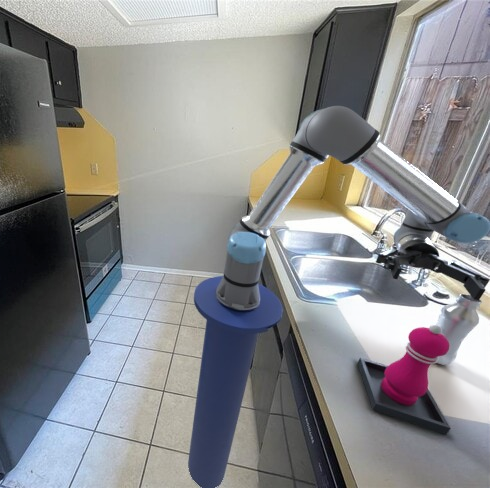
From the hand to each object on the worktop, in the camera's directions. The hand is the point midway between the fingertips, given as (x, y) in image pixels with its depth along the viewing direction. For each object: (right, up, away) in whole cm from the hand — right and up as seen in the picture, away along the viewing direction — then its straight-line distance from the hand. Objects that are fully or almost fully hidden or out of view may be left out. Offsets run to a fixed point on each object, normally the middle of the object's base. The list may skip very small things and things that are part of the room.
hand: (436, 283), depth 57 cm
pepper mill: (-6, -26, +3) cm, 27 cm away
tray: (-6, -27, +3) cm, 27 cm away
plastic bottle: (+13, -23, +14) cm, 30 cm away
